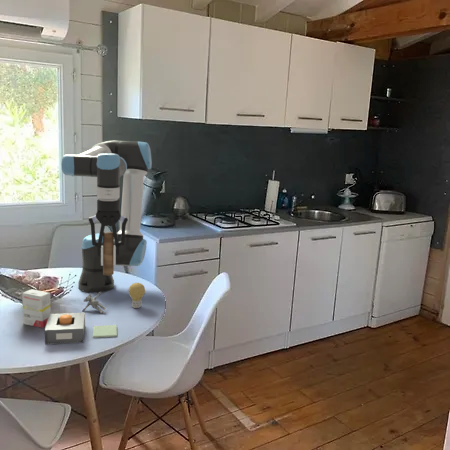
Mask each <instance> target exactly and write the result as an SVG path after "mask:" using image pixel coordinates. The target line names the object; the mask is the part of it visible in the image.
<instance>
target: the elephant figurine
mask: <svg viewBox="0 0 450 450" xmlns="http://www.w3.org/2000/svg"><path fill="white" fill-rule="evenodd" d="M101 294H102V292H98V293H97V295H95V296H94V297H93V295H92V293H89V294H88V295H87V296H85V299H83V302H85V303H87V304H86V306H85V307H84V308H83V309H82V312H84V311H86V310H87V309H88V307H90V306H91V307H92V309H95V310H97V311H98V312H99V313H100V314H103V313H104V311H105V310H107V309H106V308H107V307H106V306H104V305H103V304H101V303H100V302H99V300H97V298H98V297H99V296H100V295H101Z"/></svg>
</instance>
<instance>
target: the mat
mask: <svg viewBox="0 0 450 450" xmlns="http://www.w3.org/2000/svg"><path fill="white" fill-rule="evenodd" d="M117 327H118V326H117V324H110V325H109V324H108V325H107V324H106V325H93V329H92V338H95V339H97V338H115V337H118V334H117V333H118V332H117V330H118V328H117Z"/></svg>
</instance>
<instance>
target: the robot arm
mask: <svg viewBox="0 0 450 450" xmlns="http://www.w3.org/2000/svg"><path fill="white" fill-rule="evenodd" d="M151 151H152V150H151V147H150V145H149V143H148V142H146V141H145V142H144V141H140V140H139V141H138V140H137V141H136V140H117V139H114V140H113V139H112V140H106V141H102V142H99V143H97V144H94V145H93V146H92V147H91V148H90V149H88V150H86V151H84V152H81V153H79V154H74V153H72V154H64V155H63V156H62V157H61V158H62V159H61V163H60V164H61V171H62V174H64V175H65V176H71V177H87V178H88V177H91V178H96V183H97V185H96V197H97V198H98V199H97V201H96V213H95V215H93V216H88V221H89V224H90V231H91V233H90V234H89V235H87V236H85V237H84V238H83V239H82V241H81V242H82V243H81V258H82V259H81V261H82V263H81V264H82V269H81V274H80V276H79V279H78V282H77V283H78V285H77V286H78V287H77V288H78V289H79V290H80V291H82V292H86V293H90V294H92V293H97V294H98V293H99V292H101V293H105V292H108V291H110V290H112V289H114V287H115V278H114V277H113V276H114V275H103V233H104V232H105V227H107V226H108V227H111V228H112V232H113V235H114V247H113V265H114V266H121V267H124V266H125V267H138V266H139V267H140V266H141V265H142V263H143V262H144V259H145V256H146V251H147V240H146V239H144V234H143V233H142V232H141V223H142V222H141V221H142V209H143V208H142V207H143V205H142V204H143V189H144V179H145V176H146V175H147V174H148V171H149V170H152V165H153V163H152V162H153V161H152V152H151ZM122 176H123V178H122V179H123V180H122V193H121V192H120V191H121V190H120V185H121V184H120V181H121V179H120V178H121V177H122ZM120 193H121V194H122V195H121V201H120ZM120 203H121V209H120ZM96 220H97V221H98V222H99V223H100V227H99V232H97V233H96V228H95V227H96V226H95V223H96V222H97V221H96ZM119 220H120V224H119V227H120V228H119V230H118V231H117V227H116V224H117V223H118V222H119Z"/></svg>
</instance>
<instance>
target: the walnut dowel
mask: <svg viewBox="0 0 450 450" xmlns="http://www.w3.org/2000/svg"><path fill="white" fill-rule="evenodd" d="M113 247H114V235H113V231H104V233H103V275H112V276H114V269H115V268H114V267H115V265H113Z"/></svg>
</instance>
